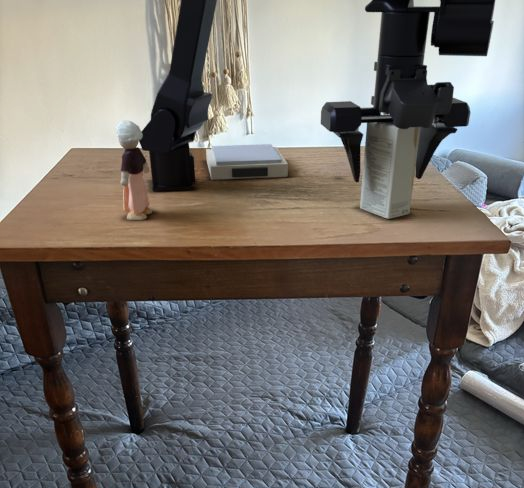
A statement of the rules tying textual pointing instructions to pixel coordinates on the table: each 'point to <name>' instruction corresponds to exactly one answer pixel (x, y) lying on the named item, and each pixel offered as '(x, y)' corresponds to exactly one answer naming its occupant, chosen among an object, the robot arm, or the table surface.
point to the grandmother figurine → (133, 171)
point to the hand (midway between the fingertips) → (387, 180)
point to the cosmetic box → (389, 169)
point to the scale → (245, 162)
